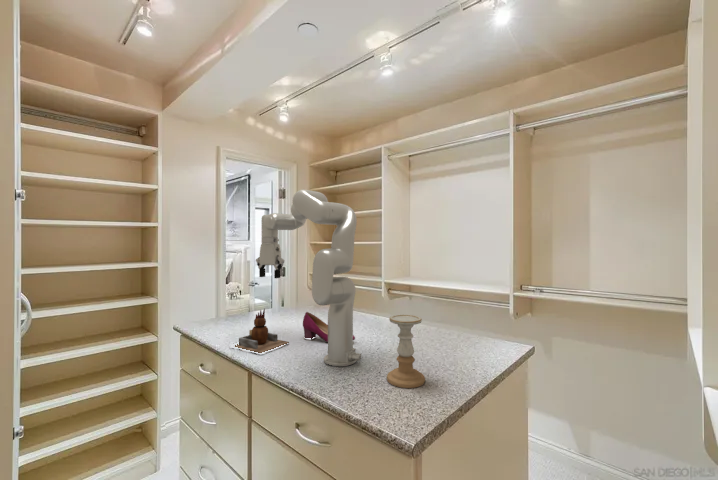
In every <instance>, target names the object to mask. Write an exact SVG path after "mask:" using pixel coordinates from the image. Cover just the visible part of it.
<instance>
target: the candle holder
mask: <svg viewBox="0 0 718 480" xmlns="http://www.w3.org/2000/svg"><path fill="white" fill-rule="evenodd" d="M388 319H389V320H388V321H389V322H390V323H392V324H395V325H397V327H398V328H399V333H398V334H397V337H398V339H399V342H398V345H397V348H396V352H397V354H398V356H396V362H397V363H398V367H396V368H394V369H392V370H391V371H389V372H388V373H387V375H386V380H387V382H388V383H389V384H390V385H392V386H393V387H397V388H402V389H414V388H415V389H416V388H419V387H422V386H423V385H425V382H426V377H425V375H424V374H423V373H422V372H420V370H417V369H416V368H414V365H413V364H414V362H415V360H416V359H415V357H414V356H413V355H414V353H415V348H414V346H413V341H412V340H413V338H414V335H413V334H412V328H413V327H414V325H419V324H421V323H422V321H423V319H422V317H421V316H418V315H414V314H395V315H391V316H390V317H389V318H388Z"/></svg>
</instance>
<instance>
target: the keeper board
mask: <svg viewBox="0 0 718 480" xmlns="http://www.w3.org/2000/svg"><path fill="white" fill-rule="evenodd" d="M248 334H249V335H244V336H241V337H239V338H238V342H239V345H238V344H237V346H236V345H235V347H238V348H242V349H246V350H250V351H254V352H258V353H262V352H265V351H268V350H271V349H274V348H276V347H279V346H281V345H284V344H287V343H289V344H290V342H289V341H286V340H281V339H278V337H279V336H278V334H277V333H271V332H268V337H267V341H266V343H264V344H260V345H258V341H255V340H252V329H249V333H248Z"/></svg>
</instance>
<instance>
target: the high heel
mask: <svg viewBox="0 0 718 480" xmlns="http://www.w3.org/2000/svg"><path fill="white" fill-rule="evenodd" d="M302 328H303V332H304V334H303V338H304V337H305V338H311V339H312V338H313V337H316V338H317V336H318V337H319V338H321V339H322V340H323V341H324V342H325V343H327V342H328V323H325V322H324V320H322V319H320V318H319V317H318V316H316V315H315V314H312V313H311V312H308V311H306V312H305V313H304V316H303V320H302ZM355 339H356V336H355V335H354V334H353V341H355Z"/></svg>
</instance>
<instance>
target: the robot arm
mask: <svg viewBox="0 0 718 480" xmlns="http://www.w3.org/2000/svg"><path fill="white" fill-rule="evenodd" d="M291 203H292V204H291V207H290V213H279V212H273V213H269V214H263V215H262V216H261V244H260V248H259V257H257V258H256V259H255V262H256V265H257V266H258V267H257V268H258V269H259V276H258V277H259V278H265V277H266V266H273V267H274V272H273V273H274V275H273V276H274V279H280V278H281V270H282V268H283V267H284V263H285V259H284V258H282V252H281V251H282V249H281V245H280V244H279V241H280V239H279V231H294V230H297V229H298V228H301V227H303V226H304V225H305V223H306V221H307V219H308V220H309V221H311V223H314V224H318V225H331V226H332V225H333V226H334V225H335V226H336V227H335V229H334V230H333V233H332V236H331V246H330V248H323V249H320V250H319V251H318V252H317V253H316V254H315V255H314V257H313V262H312V273H311V274H312V275H311V277H312V278H311V296H312V299H313V301H314V302H315V304H317V305H318V306H322V307H323V306H324V307H325V306H329V308H328V312H327V325H328V343H327V354H326V355H324V357H323V362H324V363H325V364H326V365H328V364H329V365H328V366H331V365H332V366H331V367H347V366H351V365H353V364H355V363H357V362H360V361H361V360H362V353H359V352H356V351H357V349H356V348H355V347H354V340H353V335H354V303H355V297H356V285H355V282H354V281H353V280H352V279H351V278H350V277H347V276H334V275H339V274H346V273H350V272H351V271H352V269H353V265H354V255H355V254H354V252H355V235H356V229H357V225H358V224H357V223H358V222H357V220H358V219H357V215H356V212H355V211H354V209H353V208H352V207H350V206H349V205H347V204H345V203H340V202H339V203H338V202H333V201H331V202H329V200H328V198H327V196H326V195H325V194H324V193H323V192H320V191H317V190H311V189H310V190H309V189H299V190H298V191H296V192H295V193H294V195H293V197H292V202H291Z"/></svg>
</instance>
